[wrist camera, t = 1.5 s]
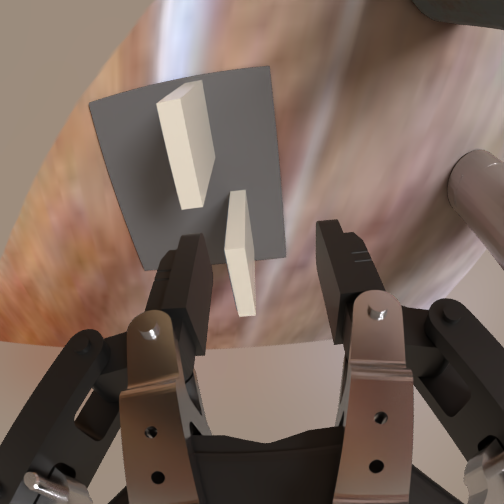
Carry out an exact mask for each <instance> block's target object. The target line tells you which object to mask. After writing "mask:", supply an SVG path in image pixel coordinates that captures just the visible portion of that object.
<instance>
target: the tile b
mask: <svg viewBox="0 0 504 504" xmlns="http://www.w3.org/2000/svg"><path fill="white" fill-rule="evenodd" d="M224 254H225V259H226V264H227V268H228V273H229V277H230V282H231V286H232V291H233V295H234V300H235V304H236V309H237V311H238V314H239V317H241V316H253V315H256V298H255V260H254V245H253V238H252V231H251V224H250V217H249V210H248V203H247V196H246V190H239V191H230V197H229V204H228V214H227V223H226V233H225V243H224Z"/></svg>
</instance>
